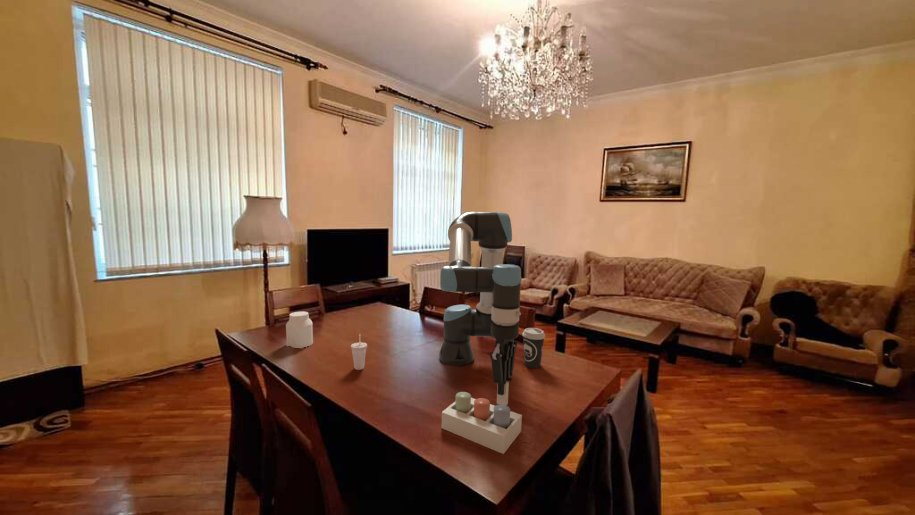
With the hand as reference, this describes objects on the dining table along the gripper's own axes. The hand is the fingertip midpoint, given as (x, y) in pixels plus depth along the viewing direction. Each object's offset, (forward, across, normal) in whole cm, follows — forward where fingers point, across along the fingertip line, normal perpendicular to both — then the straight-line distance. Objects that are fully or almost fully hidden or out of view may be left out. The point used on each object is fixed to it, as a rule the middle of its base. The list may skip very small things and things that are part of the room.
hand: (502, 403), depth 97 cm
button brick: (+8, 0, +6) cm, 10 cm away
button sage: (+8, 0, +13) cm, 15 cm away
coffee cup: (+10, +52, +10) cm, 54 cm away
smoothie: (+10, +8, +68) cm, 69 cm away
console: (+10, 0, +6) cm, 12 cm away
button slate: (+8, 0, 0) cm, 8 cm away
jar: (+10, +10, +110) cm, 111 cm away
